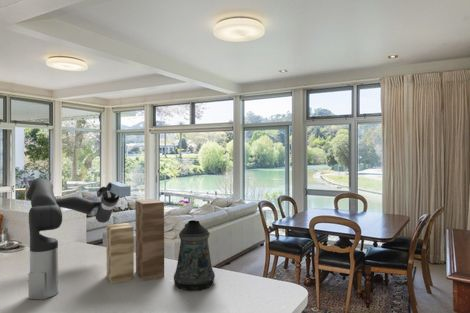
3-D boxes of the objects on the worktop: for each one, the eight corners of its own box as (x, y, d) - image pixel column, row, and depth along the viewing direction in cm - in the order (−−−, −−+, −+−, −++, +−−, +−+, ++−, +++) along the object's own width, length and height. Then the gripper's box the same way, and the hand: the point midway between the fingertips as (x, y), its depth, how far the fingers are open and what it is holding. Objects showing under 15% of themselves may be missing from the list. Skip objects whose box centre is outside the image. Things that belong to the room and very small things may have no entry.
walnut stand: (164, 276, 144) (164, 202, 144) (143, 280, 139) (143, 203, 139) (155, 268, 154) (155, 198, 154) (135, 272, 150) (135, 200, 149)
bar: (130, 196, 134) (130, 186, 134) (120, 196, 132) (120, 186, 132) (117, 190, 155) (117, 181, 155) (108, 190, 153) (108, 182, 153)
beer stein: (194, 295, 125) (194, 228, 125) (160, 283, 137) (160, 222, 136) (223, 281, 138) (222, 221, 138) (189, 271, 150) (189, 215, 150)
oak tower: (133, 279, 141) (133, 226, 141) (111, 283, 136) (111, 229, 136) (128, 271, 150) (127, 222, 149) (106, 275, 145) (106, 225, 145)
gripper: (93, 193, 159) (98, 177, 146) (123, 191, 166) (131, 176, 153) (94, 208, 156) (99, 193, 143) (125, 205, 163) (133, 191, 150)
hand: (116, 184), depth 148 cm, fingers closed on bar, 4 cm apart
